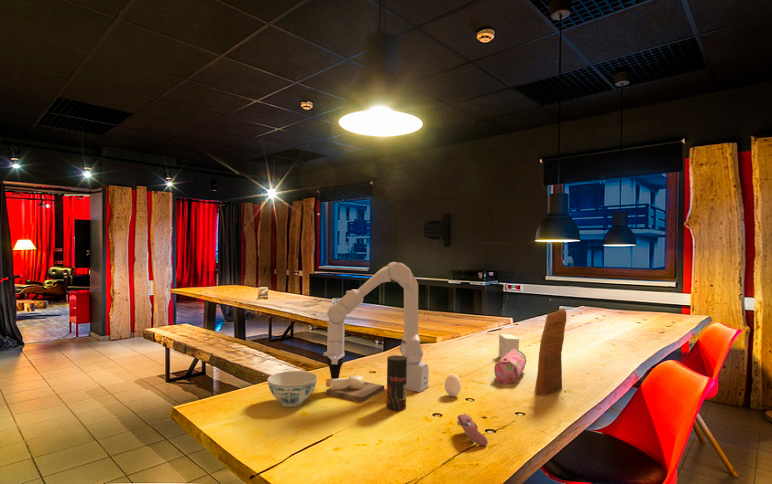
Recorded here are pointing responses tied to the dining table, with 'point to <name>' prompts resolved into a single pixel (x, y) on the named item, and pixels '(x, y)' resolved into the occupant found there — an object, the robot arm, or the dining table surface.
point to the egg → (452, 385)
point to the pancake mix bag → (551, 354)
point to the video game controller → (471, 430)
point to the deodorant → (396, 382)
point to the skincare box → (507, 344)
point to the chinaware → (292, 387)
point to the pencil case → (510, 366)
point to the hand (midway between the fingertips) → (335, 380)
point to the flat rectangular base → (356, 391)
